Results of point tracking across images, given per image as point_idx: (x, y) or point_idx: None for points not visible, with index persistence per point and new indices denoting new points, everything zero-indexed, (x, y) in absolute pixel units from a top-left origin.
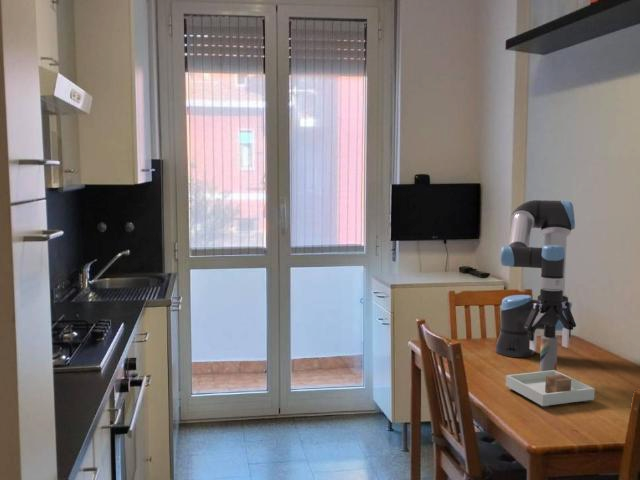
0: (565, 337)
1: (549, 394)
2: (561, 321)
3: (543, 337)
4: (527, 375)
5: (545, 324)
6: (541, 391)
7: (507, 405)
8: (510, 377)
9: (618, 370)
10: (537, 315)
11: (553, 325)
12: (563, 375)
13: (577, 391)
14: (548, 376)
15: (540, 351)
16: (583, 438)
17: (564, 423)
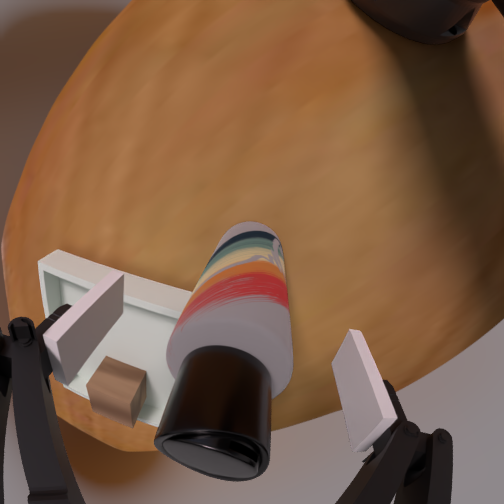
0: (350, 394)
1: (77, 393)
2: (360, 484)
3: (173, 355)
4: None
5: (170, 441)
6: (100, 348)
7: (33, 315)
8: (40, 282)
9: (483, 309)
10: (26, 476)
11: (223, 474)
12: None
13: (144, 421)
14: (89, 390)
15: (204, 274)
16: (88, 428)
17: (87, 405)
